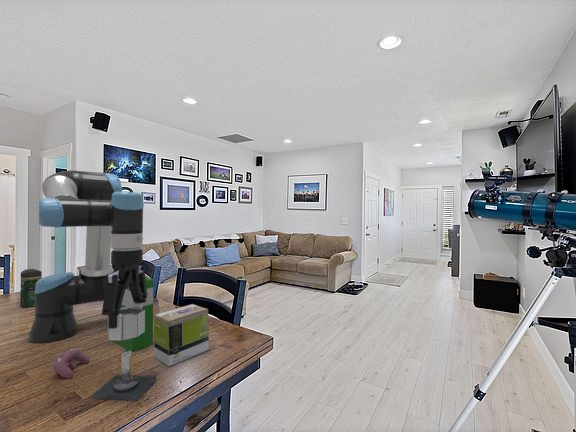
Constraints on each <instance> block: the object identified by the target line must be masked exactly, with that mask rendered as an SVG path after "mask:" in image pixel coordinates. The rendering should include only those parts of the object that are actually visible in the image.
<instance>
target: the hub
mask: <svg viewBox="0 0 576 432" xmlns="http://www.w3.org/2000/svg"><path fill="white" fill-rule="evenodd" d="M119 314H121V340H126V339H130V338H135V337H138V336H139V335H141V334H142V333H144V332H145V309H144V308H143V307H132V306H131V307H124V308H120V312H119ZM106 336H107V337H108V339H109V316H108V315H107V335H106Z"/></svg>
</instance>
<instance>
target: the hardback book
mask: <svg viewBox="0 0 576 432" xmlns="http://www.w3.org/2000/svg"><path fill="white" fill-rule="evenodd" d="M145 279H146V289H147V298H146V302H145V303H142V307H143V308H144V309H145V332H144V333H142V334H141V335H139V336H138V337H135V338H130V339H126V340H120V341H117V340H110V341H112V343H114V344H116V345H118V346H120V347H121V348H123V349H125V350H131V351H132V353H134V352H138V351H140V350H143V349H146V348H149V347H151V346H154V278H151V277H147V276H145ZM118 285H120V284H119V283H118ZM142 294H143V293H142ZM132 303H135V302H134V301H133V298H132V295H131V292H130V289H129V286H128V288H126V290H125V293H124V297H123V301H122V304H121V308H124V307H131V304H132Z"/></svg>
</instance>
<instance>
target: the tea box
mask: <svg viewBox="0 0 576 432" xmlns="http://www.w3.org/2000/svg"><path fill="white" fill-rule="evenodd" d="M209 330H210V329H209V309H208V308H206V307H202V306H199V305H196V304H194V303H191V304H188V305H184V306H180V307H177V308H173V309H169V310H166V311H162V312H159V313H158V312H157V313H153V347H154V348H153V355H154V357H155V359H157V360H158V361H160V362H162V363H163V364H165V365H166V366H168V367H171V366H173V365H176V364H178V363H181V362H183V361H185V360H187V359H190V358H193V357H195V356H197V355H199V354H201V353H204V352H207V351H208V350H209V349H210V347H209V346H210V342H209ZM209 351H210V350H209Z"/></svg>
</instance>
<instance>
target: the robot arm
mask: <svg viewBox="0 0 576 432" xmlns="http://www.w3.org/2000/svg"><path fill="white" fill-rule="evenodd" d="M121 183H122V182H121V179H120V178H119V176H118V175H116V174H113V173H107V172H100V171H99V172H97V171H84V170H83V171H82V170H81V171H80V170H64V171H58V172H56V173H53V174H50V175H49V176H47V177H46V178H45V179H44V181H43V182H42V186H41V191H42V193H43V195H44V197H45V198H44V197H43V198H41V199H39V200H38V224H39V225H40V226H41V227H45V228H46V227H51V228H53V227H54V228H66V227H67V228H68V227H69V228H72V227H74V228H76V227H79V228H80V227H86V231H85V232H86V233H85V234H86V235H85V236H86V237H85V265H84V267H82V269H81V270H80V274H78V275H75V274H74V273H73V272H71V271H70V272H60V273H55V274H51V275H47V276H44V277H42V278H41V279H39V280H38V281H37V282H36V288H35V306H34V319H33V323H32V325H31V328H30V331H29V332H28V341H29V342H30V343H35V344H42V343H49V342H50V343H51V342H57V341H60V340H63V339H64V340H65V339H67V338H70V337H72V336H74V335H76V334H77V333H78V332H79V324H78V322H77V320H76V316H75V313H74V306H78V305H83V304H91V303H97V302H98V303H99V302H102V310H101V314H102V316H107V317H108V316H109V338H108V341H111V340H117V341H120V340H121V314H119V312H120V308H121V304H122V301H123V297H124V293H125V290H126V288H128V286H129V289H130V292H131V295H132V298H133V301H134V302H135V303H132V304H131V306H132V307H142V303H145V302H146V298H147V289H146V279H145V277H146V266H145V265H139V264H141V263H143V261H144V259H143V257H144V254H143V252H144V250H143V249H141V248H142V247H143V240H144V236H143V233H144V231H143V230H144V229H143V228H144V206H145V205H144V199H143V198H144V197H143V194H142V193H140V192H137V191H123V188H122V187H123V186H122V184H121ZM111 249H113V250H112V251H111ZM110 264H111V265H113V266H114V268H113V267H112V266H111V265H110ZM118 283H119V284H120V285H118ZM142 293H143V294H142Z"/></svg>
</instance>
